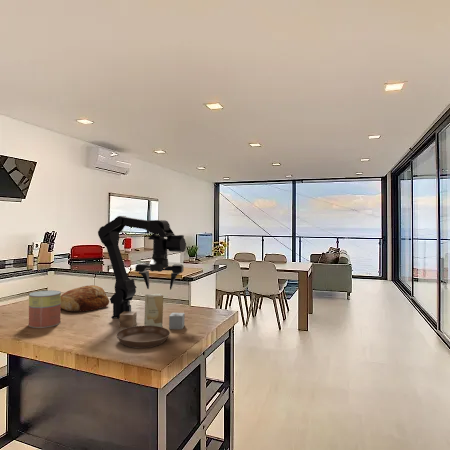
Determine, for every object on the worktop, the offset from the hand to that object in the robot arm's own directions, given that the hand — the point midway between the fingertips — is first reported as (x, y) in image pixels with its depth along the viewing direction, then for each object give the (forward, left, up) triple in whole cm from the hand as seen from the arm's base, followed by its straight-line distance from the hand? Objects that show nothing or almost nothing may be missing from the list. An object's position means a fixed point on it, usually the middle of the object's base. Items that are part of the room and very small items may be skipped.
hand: (159, 289), depth 148 cm
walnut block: (-10, -8, -13) cm, 18 cm away
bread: (-42, +19, -13) cm, 48 cm away
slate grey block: (+9, -8, -13) cm, 18 cm away
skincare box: (0, -8, -13) cm, 15 cm away
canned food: (-43, -8, -13) cm, 46 cm away
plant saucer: (0, -25, -13) cm, 28 cm away
